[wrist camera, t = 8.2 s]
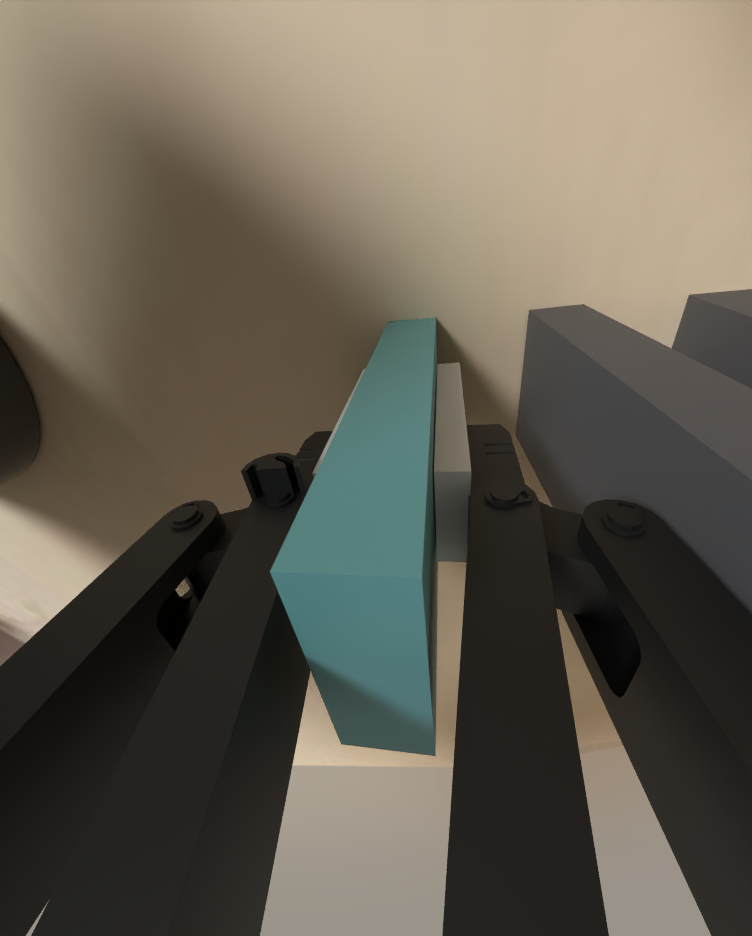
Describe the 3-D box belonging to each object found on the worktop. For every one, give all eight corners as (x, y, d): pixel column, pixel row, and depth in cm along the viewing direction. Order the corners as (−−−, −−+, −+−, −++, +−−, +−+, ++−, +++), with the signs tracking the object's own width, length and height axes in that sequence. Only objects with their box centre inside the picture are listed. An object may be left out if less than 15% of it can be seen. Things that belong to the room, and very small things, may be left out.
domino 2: (515, 435, 16) (708, 807, 6) (529, 310, 13) (932, 618, 3) (560, 431, 16) (836, 811, 6) (583, 304, 13) (1201, 614, 3)
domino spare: (399, 435, 17) (341, 743, 7) (388, 321, 14) (269, 572, 4) (439, 434, 17) (435, 755, 7) (435, 317, 14) (421, 577, 4)
